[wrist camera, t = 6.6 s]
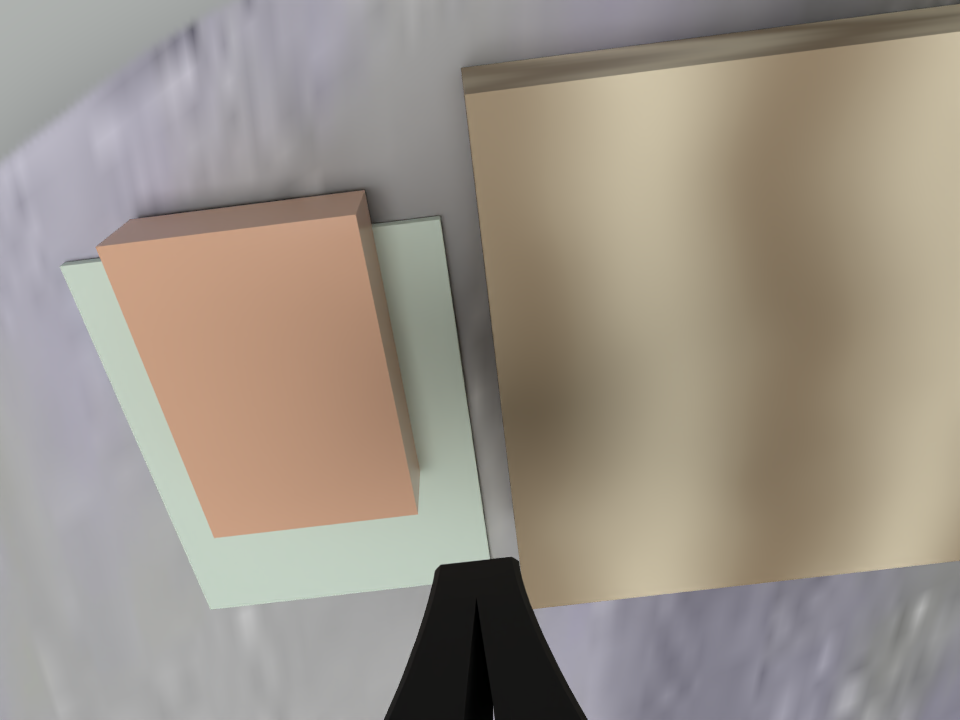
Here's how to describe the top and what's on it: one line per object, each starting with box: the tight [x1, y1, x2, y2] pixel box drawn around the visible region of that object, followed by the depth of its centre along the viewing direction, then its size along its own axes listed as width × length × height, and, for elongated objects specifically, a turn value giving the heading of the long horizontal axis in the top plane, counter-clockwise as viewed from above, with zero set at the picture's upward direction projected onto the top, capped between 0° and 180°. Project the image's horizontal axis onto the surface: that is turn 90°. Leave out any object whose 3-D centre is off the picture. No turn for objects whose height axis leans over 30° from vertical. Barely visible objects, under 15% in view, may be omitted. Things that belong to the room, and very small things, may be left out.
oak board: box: [461, 4, 960, 609], centre depth 18 cm, size 14×14×4 cm
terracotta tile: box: [96, 190, 420, 538], centre depth 19 cm, size 6×9×2 cm, turn 7°
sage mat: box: [60, 216, 490, 610], centre depth 21 cm, size 10×13×1 cm
